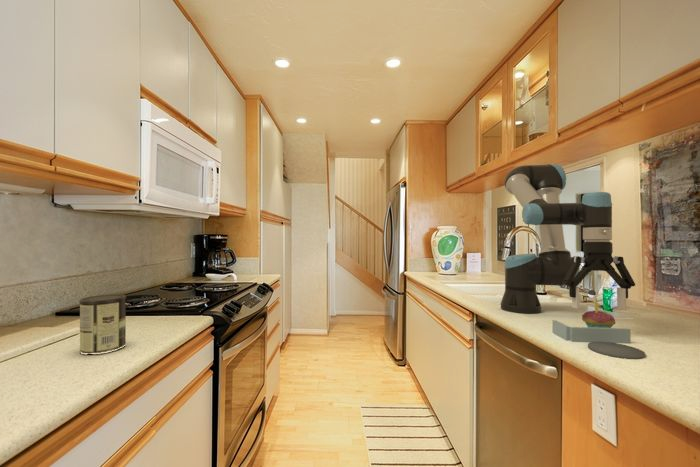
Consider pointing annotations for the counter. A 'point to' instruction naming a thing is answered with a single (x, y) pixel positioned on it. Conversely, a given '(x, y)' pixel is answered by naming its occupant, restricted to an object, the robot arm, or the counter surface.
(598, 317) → the cupcake
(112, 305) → the coffee can
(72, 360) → the counter surface
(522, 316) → the counter surface
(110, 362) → the counter surface
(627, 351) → the pad
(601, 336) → the pen walls
